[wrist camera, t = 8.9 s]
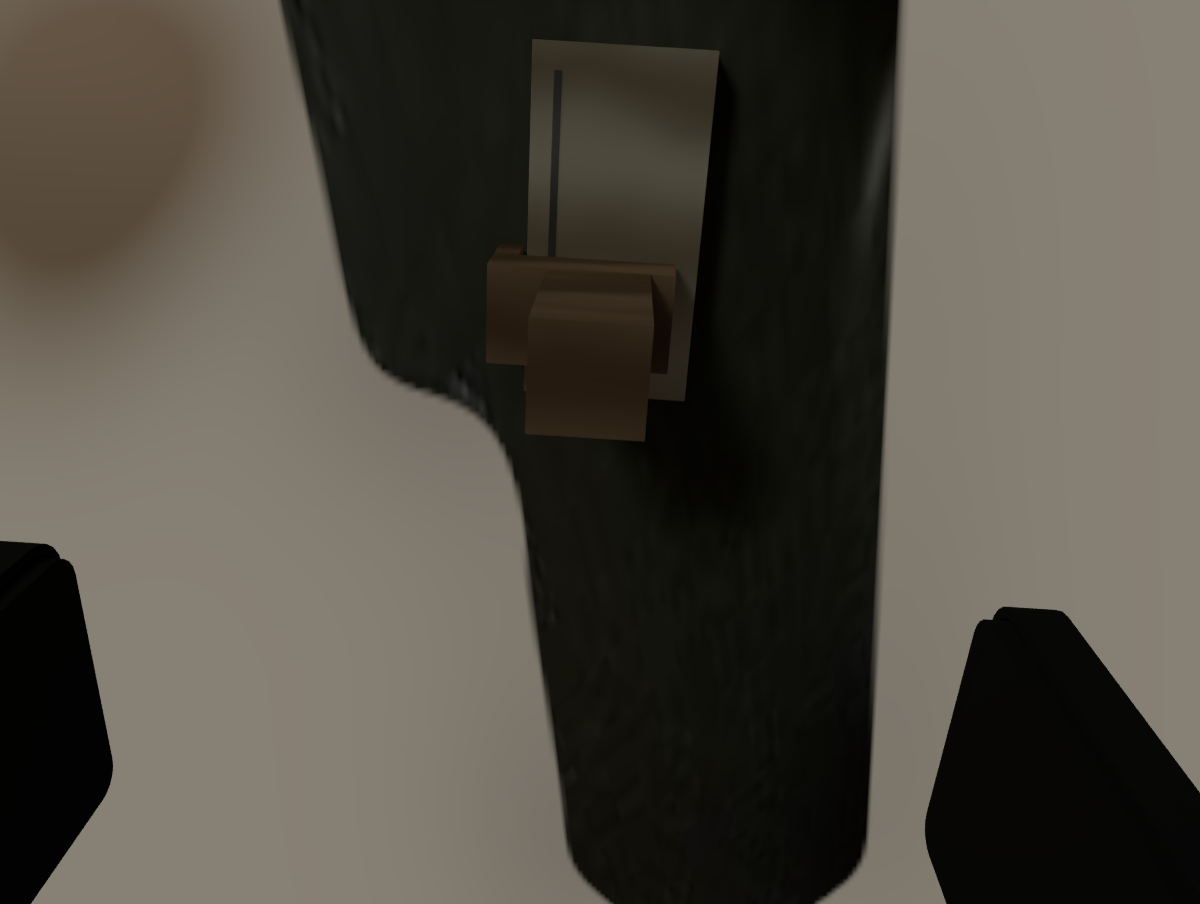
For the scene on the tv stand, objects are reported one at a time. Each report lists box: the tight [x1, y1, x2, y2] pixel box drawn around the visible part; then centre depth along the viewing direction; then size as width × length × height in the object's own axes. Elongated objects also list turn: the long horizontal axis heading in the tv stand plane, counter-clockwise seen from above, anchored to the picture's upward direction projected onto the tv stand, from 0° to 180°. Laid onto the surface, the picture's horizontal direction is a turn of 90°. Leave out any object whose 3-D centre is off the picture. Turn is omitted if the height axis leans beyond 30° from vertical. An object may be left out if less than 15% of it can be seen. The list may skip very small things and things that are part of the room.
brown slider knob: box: [486, 244, 676, 442], centre depth 36 cm, size 4×7×11 cm, turn 87°
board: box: [524, 39, 719, 401], centre depth 39 cm, size 14×7×2 cm, turn 177°
